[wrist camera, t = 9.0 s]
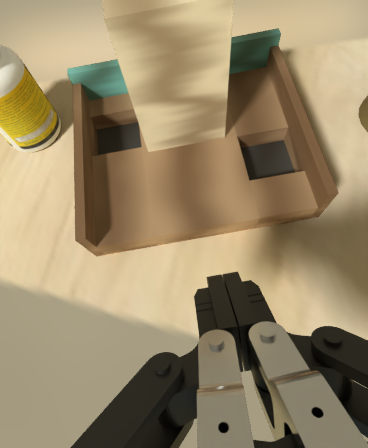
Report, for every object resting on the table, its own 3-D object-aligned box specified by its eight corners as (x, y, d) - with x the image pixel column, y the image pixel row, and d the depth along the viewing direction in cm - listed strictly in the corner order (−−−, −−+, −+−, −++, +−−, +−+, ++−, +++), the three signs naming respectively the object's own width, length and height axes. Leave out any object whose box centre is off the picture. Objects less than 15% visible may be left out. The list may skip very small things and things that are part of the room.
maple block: (209, 81, 27) (208, -77, 17) (224, 137, 25) (234, -7, 14) (140, 94, 27) (97, -55, 17) (148, 152, 25) (104, 19, 15)
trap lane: (267, 78, 29) (278, 28, 25) (318, 216, 23) (344, 185, 19) (90, 111, 30) (67, 68, 25) (96, 256, 24) (69, 235, 19)
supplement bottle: (72, 117, 30) (11, 17, 21) (44, 160, 28) (-36, 73, 19) (28, 104, 31) (-48, 5, 22) (-1, 145, 29) (-98, 56, 20)
